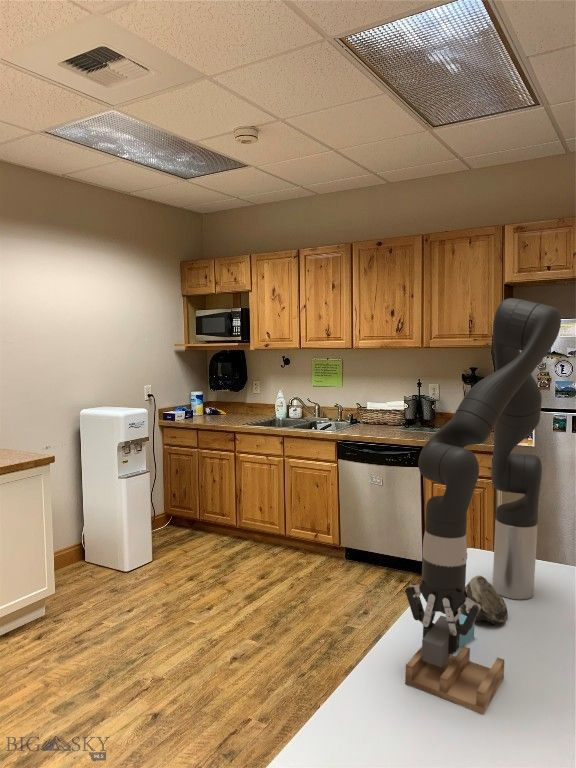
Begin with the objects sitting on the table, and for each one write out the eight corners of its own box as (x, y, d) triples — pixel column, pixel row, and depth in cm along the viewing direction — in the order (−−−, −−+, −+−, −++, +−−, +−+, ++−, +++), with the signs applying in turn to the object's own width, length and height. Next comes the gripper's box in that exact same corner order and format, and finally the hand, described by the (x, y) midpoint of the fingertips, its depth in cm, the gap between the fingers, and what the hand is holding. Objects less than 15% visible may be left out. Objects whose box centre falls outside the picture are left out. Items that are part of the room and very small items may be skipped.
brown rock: (513, 630, 120) (491, 586, 120) (471, 644, 122) (450, 602, 122) (506, 604, 130) (486, 564, 130) (468, 617, 133) (448, 578, 133)
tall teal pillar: (457, 631, 120) (458, 612, 120) (473, 638, 118) (474, 619, 118) (434, 647, 114) (435, 628, 114) (451, 655, 112) (451, 635, 111)
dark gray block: (440, 634, 110) (440, 615, 109) (459, 640, 108) (459, 621, 107) (422, 660, 103) (422, 639, 102) (441, 667, 100) (442, 646, 100)
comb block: (430, 652, 112) (431, 635, 112) (503, 678, 104) (504, 659, 104) (405, 683, 102) (405, 664, 102) (483, 714, 94) (484, 693, 94)
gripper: (398, 553, 104) (395, 645, 106) (477, 573, 96) (473, 672, 98) (415, 541, 110) (412, 627, 112) (491, 558, 102) (486, 652, 104)
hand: (440, 648), depth 105 cm, fingers closed on dark gray block, 3 cm apart
